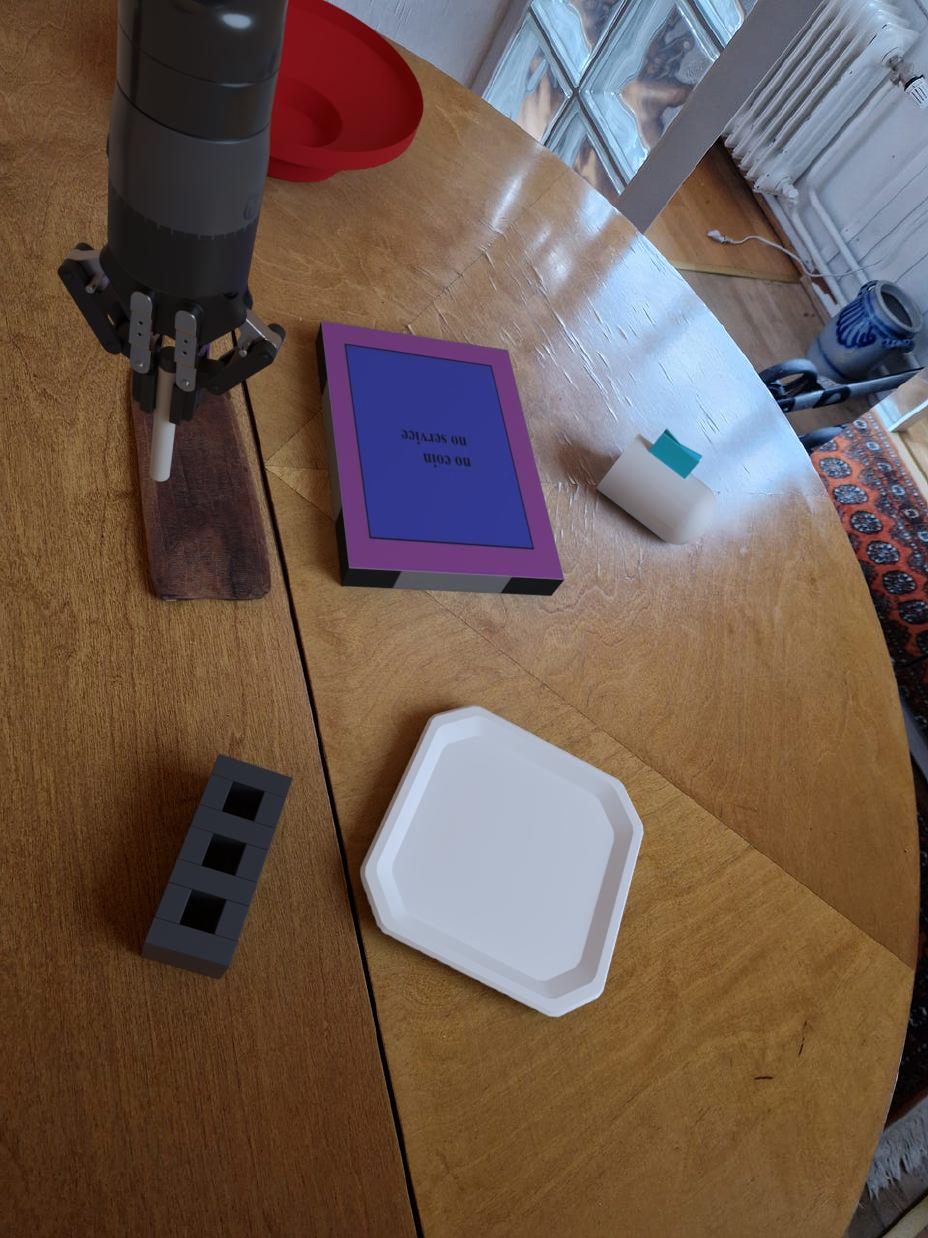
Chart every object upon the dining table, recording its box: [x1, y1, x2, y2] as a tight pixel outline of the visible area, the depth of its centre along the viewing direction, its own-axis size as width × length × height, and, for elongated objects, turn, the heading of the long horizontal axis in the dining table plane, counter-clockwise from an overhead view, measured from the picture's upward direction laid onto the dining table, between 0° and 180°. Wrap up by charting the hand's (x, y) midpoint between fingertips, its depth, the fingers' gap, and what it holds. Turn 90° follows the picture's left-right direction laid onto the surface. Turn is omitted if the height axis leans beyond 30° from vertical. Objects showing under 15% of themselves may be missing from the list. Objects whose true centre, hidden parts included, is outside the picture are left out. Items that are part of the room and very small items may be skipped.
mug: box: [596, 427, 717, 546], centre depth 96 cm, size 12×9×12 cm
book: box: [314, 320, 565, 597], centre depth 89 cm, size 21×3×30 cm
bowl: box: [267, 0, 425, 183], centre depth 105 cm, size 30×30×10 cm
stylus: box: [149, 345, 177, 481], centre depth 60 cm, size 1×1×12 cm
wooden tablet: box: [129, 369, 272, 603], centre depth 79 cm, size 26×2×10 cm
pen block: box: [140, 753, 293, 980], centre depth 62 cm, size 13×6×5 cm, turn 168°
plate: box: [359, 704, 644, 1018], centre depth 71 cm, size 21×21×2 cm
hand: (165, 409), depth 59 cm, fingers closed on stylus, 1 cm apart
